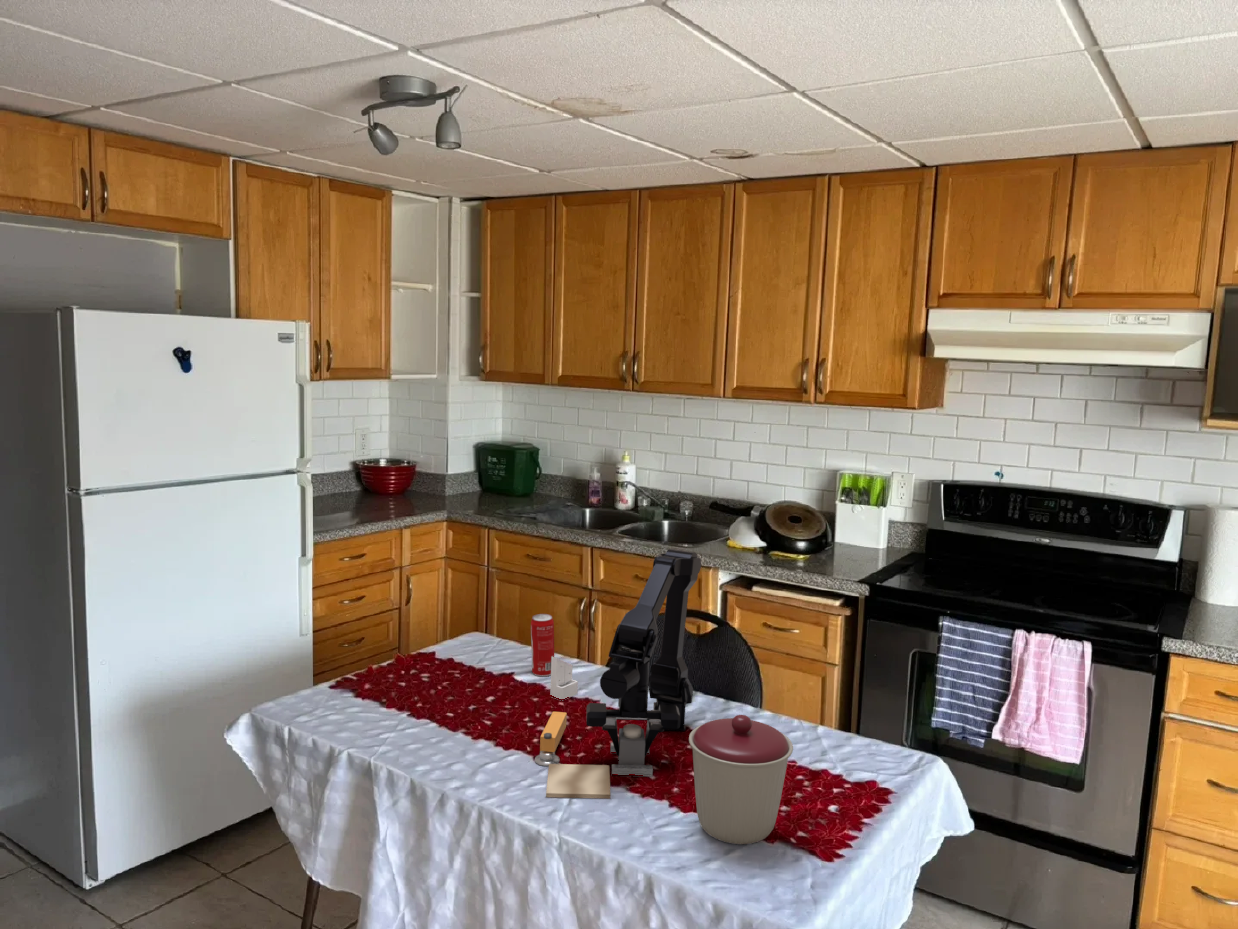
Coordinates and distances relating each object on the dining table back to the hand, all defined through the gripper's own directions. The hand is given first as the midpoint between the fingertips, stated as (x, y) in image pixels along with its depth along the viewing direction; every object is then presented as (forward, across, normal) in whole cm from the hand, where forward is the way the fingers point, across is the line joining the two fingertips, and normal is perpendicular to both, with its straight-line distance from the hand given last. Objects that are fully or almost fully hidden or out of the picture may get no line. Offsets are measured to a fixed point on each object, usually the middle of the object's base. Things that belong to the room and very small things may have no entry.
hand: (631, 755), depth 190 cm
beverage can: (+2, +20, -49) cm, 53 cm away
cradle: (+2, +8, 0) cm, 8 cm away
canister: (+2, -18, +25) cm, 31 cm away
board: (+2, +10, +9) cm, 14 cm away
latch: (0, +16, -6) cm, 17 cm away
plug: (+2, 0, 0) cm, 2 cm away
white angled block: (+2, +14, -35) cm, 38 cm away
